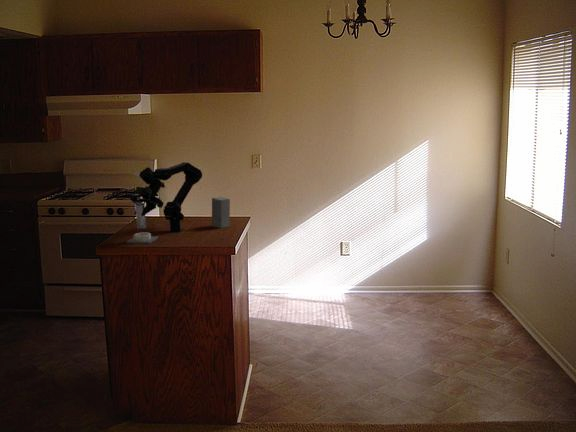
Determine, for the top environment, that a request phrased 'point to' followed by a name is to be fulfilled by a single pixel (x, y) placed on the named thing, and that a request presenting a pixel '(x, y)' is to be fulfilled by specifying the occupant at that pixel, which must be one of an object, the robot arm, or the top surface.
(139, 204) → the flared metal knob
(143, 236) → the dock
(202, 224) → the top surface
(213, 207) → the skincare box
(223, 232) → the top surface
